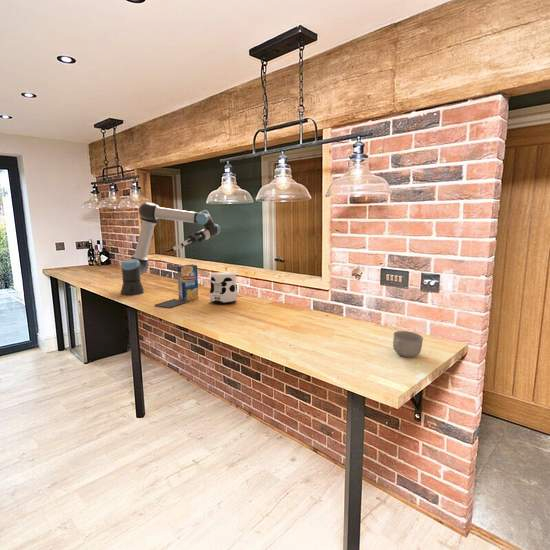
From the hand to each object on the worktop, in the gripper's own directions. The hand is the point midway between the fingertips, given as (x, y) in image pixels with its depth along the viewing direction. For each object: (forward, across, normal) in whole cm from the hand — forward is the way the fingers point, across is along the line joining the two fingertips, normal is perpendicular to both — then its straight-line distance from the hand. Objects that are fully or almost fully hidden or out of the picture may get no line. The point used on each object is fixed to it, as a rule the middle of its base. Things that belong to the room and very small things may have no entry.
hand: (178, 246), depth 244 cm
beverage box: (+13, -2, -34) cm, 36 cm away
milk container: (+5, -25, -44) cm, 51 cm away
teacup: (+19, -141, -79) cm, 162 cm away
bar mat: (+27, -8, -31) cm, 42 cm away
